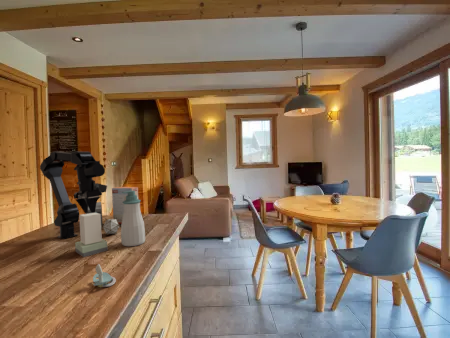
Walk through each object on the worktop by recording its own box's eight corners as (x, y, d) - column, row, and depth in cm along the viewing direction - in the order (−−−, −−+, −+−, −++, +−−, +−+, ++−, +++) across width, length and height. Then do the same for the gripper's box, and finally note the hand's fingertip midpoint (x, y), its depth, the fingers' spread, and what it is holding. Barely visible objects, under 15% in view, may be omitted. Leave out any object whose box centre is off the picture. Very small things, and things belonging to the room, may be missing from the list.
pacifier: (114, 276, 78) (92, 281, 75) (114, 257, 77) (92, 260, 74) (117, 286, 71) (93, 292, 68) (117, 265, 71) (93, 270, 68)
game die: (113, 242, 121) (111, 229, 115) (98, 236, 122) (95, 223, 116) (125, 229, 128) (123, 216, 122) (111, 223, 129) (109, 210, 123)
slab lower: (75, 253, 100) (75, 248, 100) (98, 247, 107) (98, 242, 106) (83, 258, 94) (83, 253, 94) (108, 251, 101) (107, 246, 100)
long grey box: (87, 220, 152) (86, 203, 152) (101, 219, 156) (101, 201, 155) (86, 230, 130) (85, 210, 129) (102, 228, 133) (101, 208, 133)
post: (80, 242, 100) (79, 214, 100) (96, 238, 104) (95, 212, 104) (85, 244, 95) (84, 216, 95) (101, 241, 100) (100, 213, 100)
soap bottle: (117, 243, 108) (115, 191, 107) (138, 238, 115) (136, 189, 114) (128, 248, 101) (125, 193, 100) (149, 242, 108) (147, 190, 107)
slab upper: (75, 247, 100) (75, 242, 100) (99, 242, 106) (98, 236, 106) (82, 253, 94) (82, 247, 94) (107, 246, 100) (107, 241, 100)
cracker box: (140, 222, 144) (138, 186, 143) (133, 225, 139) (131, 187, 138) (120, 221, 149) (119, 186, 148) (113, 223, 143) (111, 187, 142)
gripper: (111, 175, 112) (116, 209, 111) (96, 178, 124) (100, 209, 124) (84, 178, 104) (89, 215, 103) (71, 181, 116) (75, 214, 116)
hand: (89, 213), depth 112 cm, fingers open, 9 cm apart
